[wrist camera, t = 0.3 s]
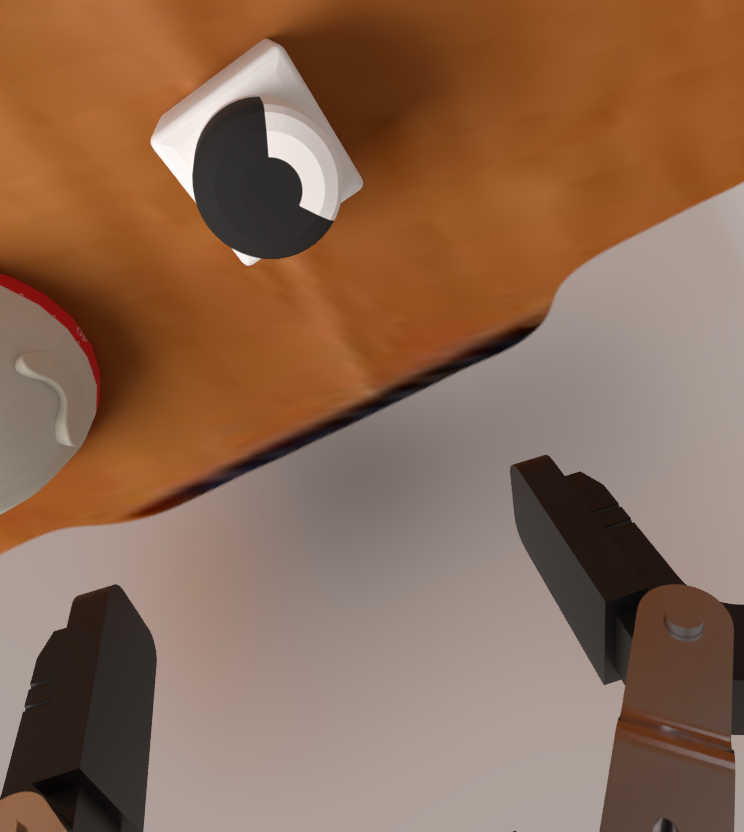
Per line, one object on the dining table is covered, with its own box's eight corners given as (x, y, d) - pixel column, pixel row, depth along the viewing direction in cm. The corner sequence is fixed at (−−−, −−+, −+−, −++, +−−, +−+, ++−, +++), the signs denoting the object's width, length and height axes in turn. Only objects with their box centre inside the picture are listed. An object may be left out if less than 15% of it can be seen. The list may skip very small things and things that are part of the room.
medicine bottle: (241, 229, 38) (253, 309, 28) (157, 117, 34) (135, 164, 24) (342, 158, 37) (391, 214, 27) (267, 35, 33) (292, 47, 23)
